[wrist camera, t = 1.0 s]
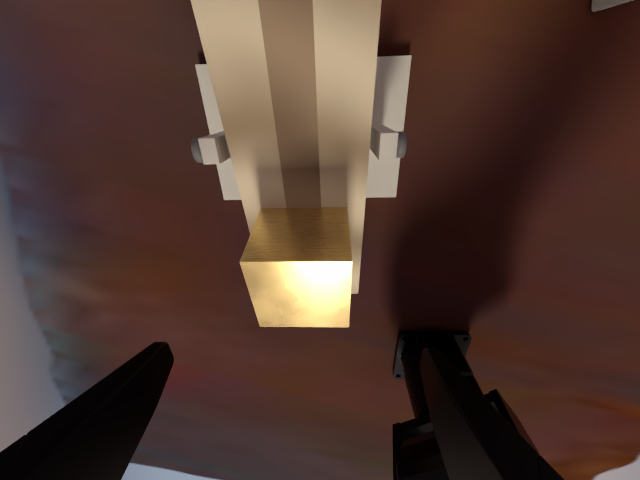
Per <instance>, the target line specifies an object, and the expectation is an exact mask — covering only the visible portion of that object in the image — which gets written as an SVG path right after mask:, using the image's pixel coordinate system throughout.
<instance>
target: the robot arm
mask: <svg viewBox="0 0 640 480" xmlns="http://www.w3.org/2000/svg"><path fill="white" fill-rule="evenodd" d="M470 341H471V336H470V335H469V333H468V332H448V331H402V332H400V333H399V335H398V341H397V347H396V354H395V360H394V366H393V377H394V378H395V379H405V382H406V386H407V389H408V393H409V397H410V401H411V405H412V409H413V412H414V416H415V419H412V420H409V421H406V422H403V423H396V424H393V480H564V479H563V478H562V477H561V476H560V475H559V474H558V473H557V472H556V471H555V470H554V469H553V468H552V467H551V466H550V465H549V464H548V463H547V462H546V461H545V460H544V459H543V458H542V457H541V456H540V454H539V452H538V451H537V449H536V447H535V446H534V444H533V442H532V441H531V439H530V437H529V436H528V434H527V432H526V431H525V429H524V427H523V426H522V424H521V422H520V421H519V419H518V418H517V416H516V415H515V414H514V412H513V411H512V410H511V408H510V407H509V405H508V404H507V403H506V401H505V400H504V399H503V397H502V396H501V395H500V393H499V392H498V391H497V389H495V390H492V391H489V393H488V394H485V395H483V393H482V391H481V389H480V387H479V385H478V383H477V381H476V379H475V377H474V375H473V372H472V370H471V368H470V366H469V364H468V362H467V360H466V359H465V355H466V352H467V350H468V347H469V344H470ZM173 362H174V357H173V354H172V352H171V349H170V347H169V345H168V343H166V342H154V343H152V344H151V345H149V346H148V347H147V348H145V349H144V350H143V351H141V352H140V353H138V354H137V355H136V356H134V357H133V358H131V359H130V360H129V361H127V362H126V363H124V364H123V365H122V366H120V367H119V368H117V369H116V370H115V371H113V372H112V373H110V374H109V375H108V376H106V377H105V378H103V379H102V380H101V381H99V382H98V383H96V384H95V385H94V386H92V387H91V388H90V389H88V390H87V391H85V392H84V393H83V394H81V395H80V396H78V397H77V398H76V399H74V400H73V401H71V402H70V403H69V404H67V405H66V406H64V407H63V408H62V409H60V410H59V411H57V412H56V413H55V414H53V415H52V416H50V417H49V418H48V419H46V420H45V421H43V422H42V423H41V424H39V425H38V426H37V427H35V428H34V429H32V430H31V431H29V432H28V433H27V435H24V436H23V437H21V438H20V439H18V440H17V441H16V442H14V443H13V444H11V445H10V446H8V447H7V448H6V449H4V450H3V451H1V452H0V480H121V479H122V476H123V474H124V472H125V470H126V468H127V466H128V464H129V462H130V460H131V458H132V456H133V454H134V452H135V450H136V448H137V446H138V444H139V442H140V440H141V438H142V436H143V434H144V432H145V430H146V428H147V426H148V424H149V422H150V420H151V418H152V416H153V413H154V411H155V409H156V407H157V404H158V402H159V399H160V397H161V394H162V392H163V389H164V386H165V384H166V381H167V379H168V376H169V374H170V371H171V368H172V366H173Z"/></svg>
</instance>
